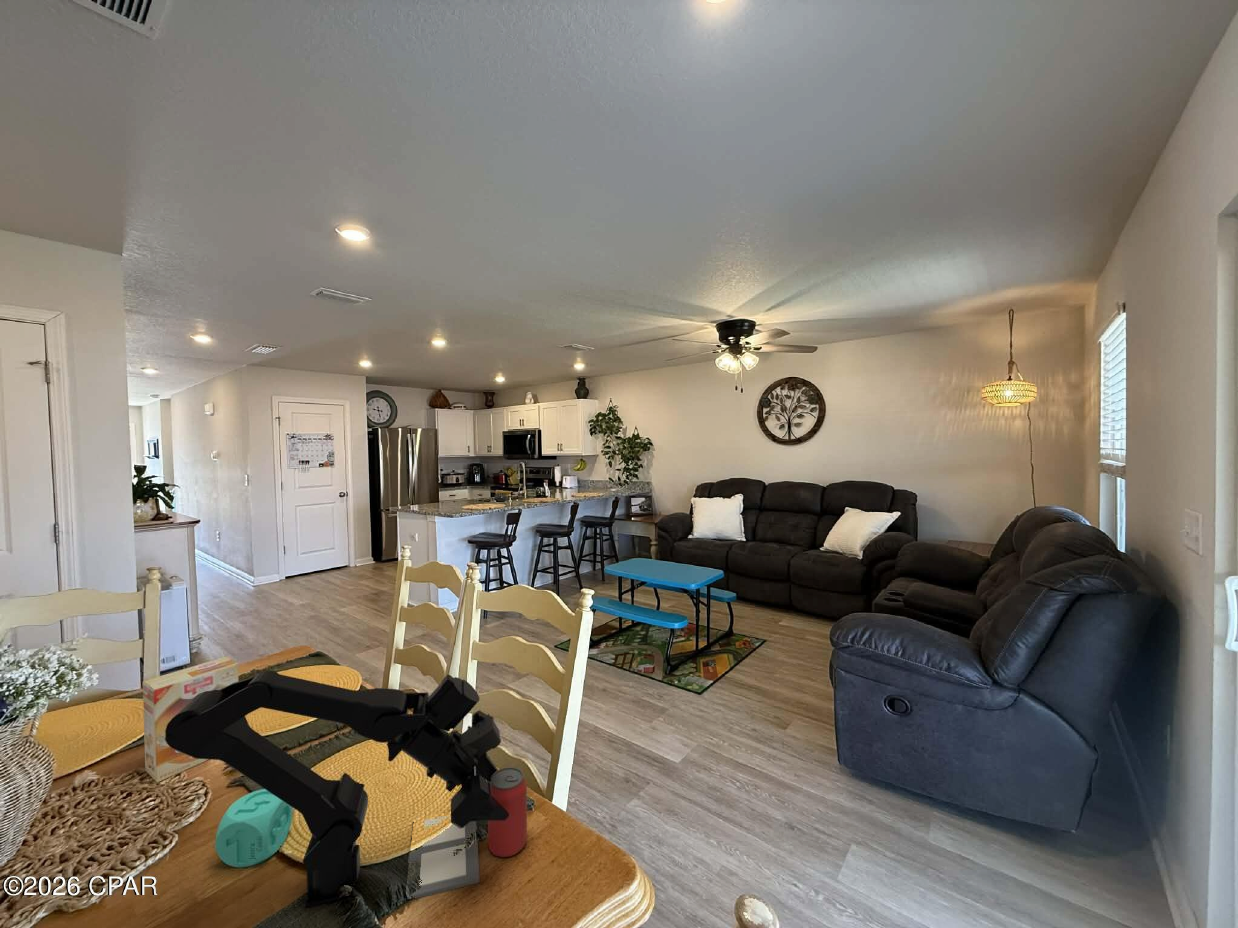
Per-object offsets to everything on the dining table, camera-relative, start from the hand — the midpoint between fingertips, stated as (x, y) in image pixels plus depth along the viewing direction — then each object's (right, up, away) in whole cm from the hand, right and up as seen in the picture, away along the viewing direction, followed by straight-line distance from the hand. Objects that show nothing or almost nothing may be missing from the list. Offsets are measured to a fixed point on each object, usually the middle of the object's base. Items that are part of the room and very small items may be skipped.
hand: (504, 798), depth 88 cm
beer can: (0, -8, 0) cm, 8 cm away
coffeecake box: (-73, -7, +24) cm, 77 cm away
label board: (-10, -8, -1) cm, 13 cm away
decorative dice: (-42, -8, -1) cm, 43 cm away
